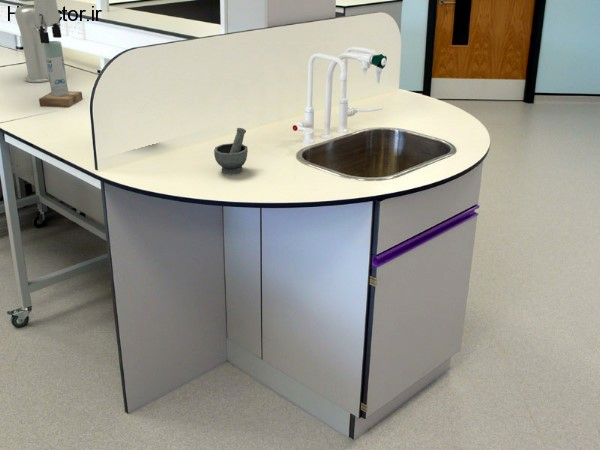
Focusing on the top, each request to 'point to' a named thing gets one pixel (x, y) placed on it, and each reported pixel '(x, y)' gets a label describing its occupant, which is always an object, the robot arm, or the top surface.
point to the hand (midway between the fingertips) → (51, 40)
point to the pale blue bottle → (56, 68)
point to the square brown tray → (60, 100)
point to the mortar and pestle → (232, 154)
